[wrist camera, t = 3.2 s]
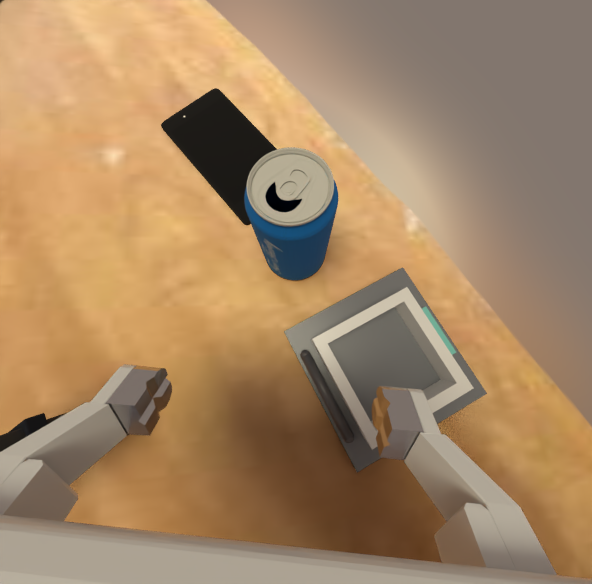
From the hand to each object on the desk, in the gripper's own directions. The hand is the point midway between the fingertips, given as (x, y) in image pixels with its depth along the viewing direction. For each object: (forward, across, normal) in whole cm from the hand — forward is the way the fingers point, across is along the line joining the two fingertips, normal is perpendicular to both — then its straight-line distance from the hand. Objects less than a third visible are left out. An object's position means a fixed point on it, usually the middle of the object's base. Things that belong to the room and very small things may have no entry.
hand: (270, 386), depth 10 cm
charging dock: (+12, -9, +11) cm, 18 cm away
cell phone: (+29, +9, -5) cm, 31 cm away
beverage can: (+20, 0, +3) cm, 20 cm away
